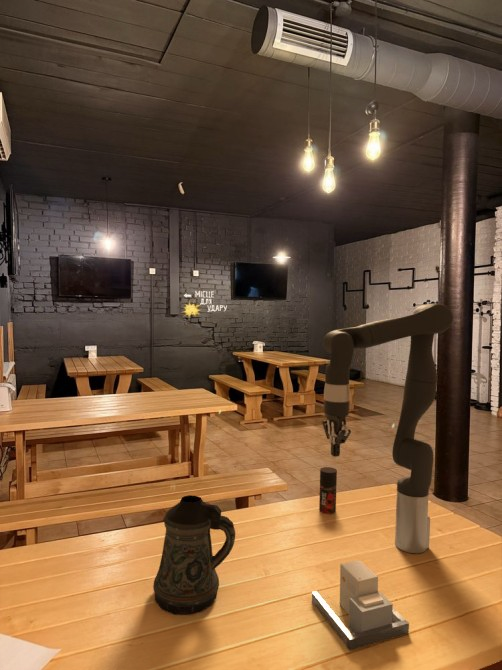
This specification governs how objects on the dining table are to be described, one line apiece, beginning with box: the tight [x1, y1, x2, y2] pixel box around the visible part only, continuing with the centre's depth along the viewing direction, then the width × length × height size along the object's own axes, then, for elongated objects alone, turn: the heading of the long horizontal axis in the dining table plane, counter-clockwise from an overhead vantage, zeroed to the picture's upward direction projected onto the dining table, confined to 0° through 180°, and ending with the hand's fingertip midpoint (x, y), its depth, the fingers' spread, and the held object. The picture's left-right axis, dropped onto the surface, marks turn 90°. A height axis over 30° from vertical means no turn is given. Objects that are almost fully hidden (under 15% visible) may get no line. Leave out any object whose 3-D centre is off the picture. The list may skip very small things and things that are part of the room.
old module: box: [348, 590, 394, 634], centre depth 104 cm, size 8×5×8 cm, turn 110°
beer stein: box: [152, 495, 236, 616], centre depth 116 cm, size 16×19×25 cm
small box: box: [339, 559, 379, 615], centre depth 110 cm, size 8×6×10 cm
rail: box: [311, 590, 410, 652], centre depth 108 cm, size 15×17×2 cm
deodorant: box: [318, 466, 338, 515], centre depth 165 cm, size 6×6×15 cm
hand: (335, 455), depth 137 cm, fingers closed
